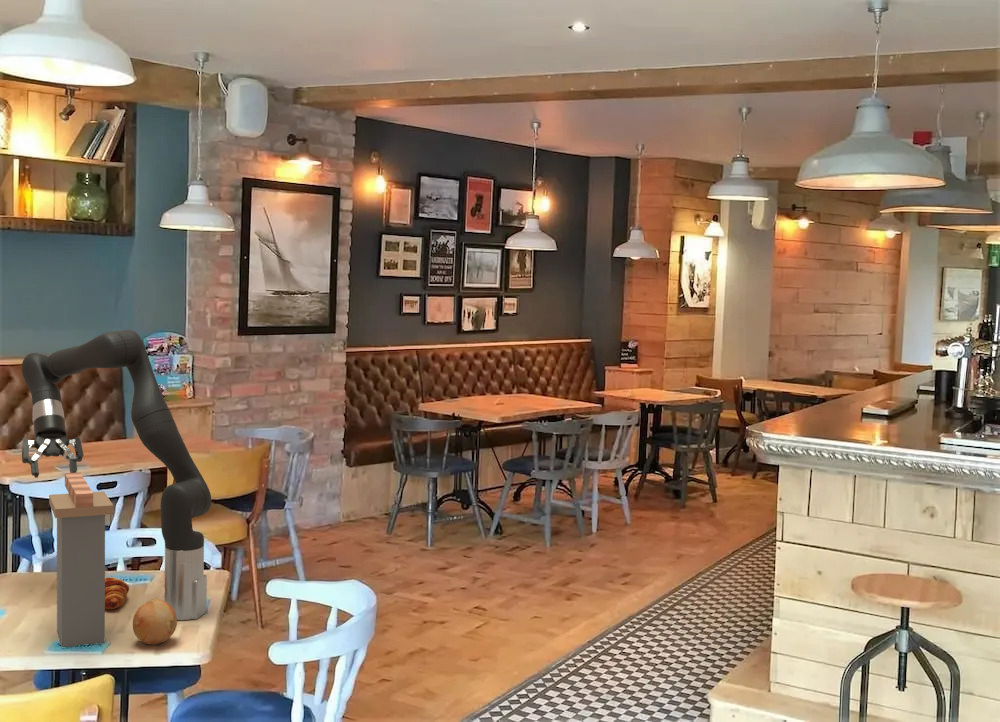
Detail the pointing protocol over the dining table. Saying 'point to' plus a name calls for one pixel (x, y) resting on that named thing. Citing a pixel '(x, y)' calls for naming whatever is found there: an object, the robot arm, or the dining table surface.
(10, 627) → the dining table surface
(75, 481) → the batten
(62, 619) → the stand
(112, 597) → the croissant
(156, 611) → the onion
